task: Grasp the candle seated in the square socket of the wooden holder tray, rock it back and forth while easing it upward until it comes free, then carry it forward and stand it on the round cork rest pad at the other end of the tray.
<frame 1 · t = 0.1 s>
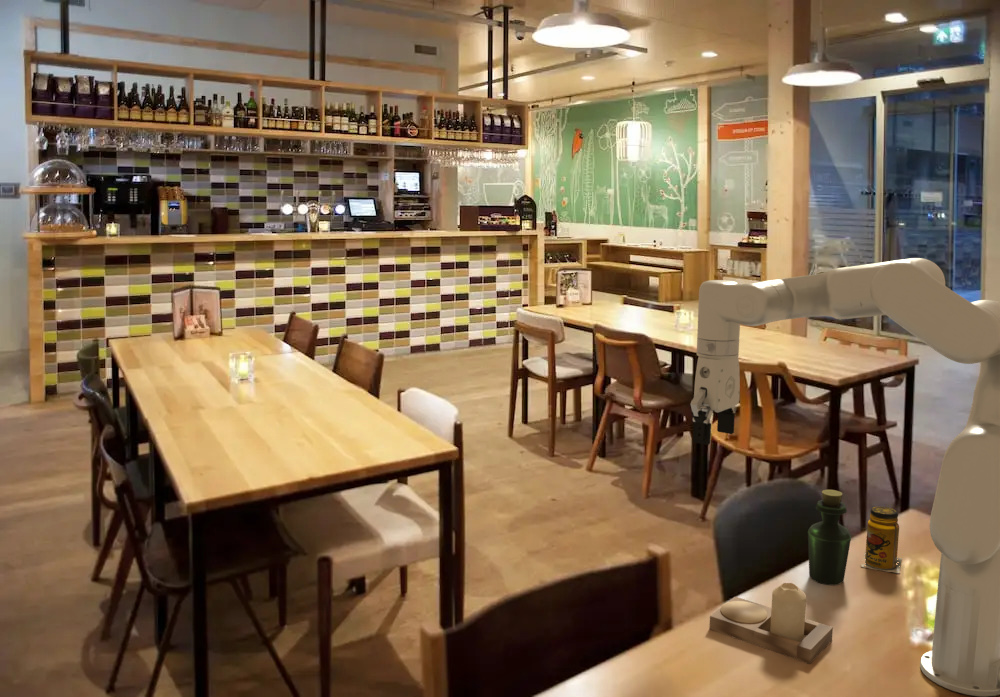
hand: (713, 437, 161), 31 cm above the table, fingers open, 9 cm apart
potion bottle: (826, 579, 173), on the table
wooden holder tray: (769, 634, 151), on the table
condiment: (881, 564, 181), on the table
candle: (786, 641, 149), resting in wooden holder tray
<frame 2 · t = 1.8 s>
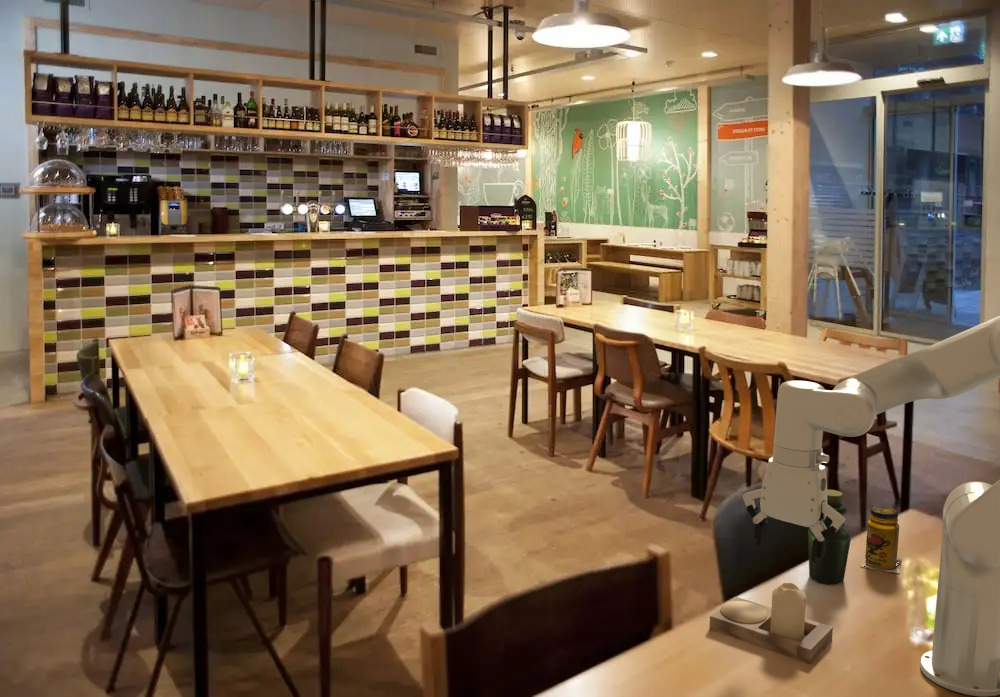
hand: (788, 552, 146), 16 cm above the table, fingers open, 9 cm apart
nothing on the table moved.
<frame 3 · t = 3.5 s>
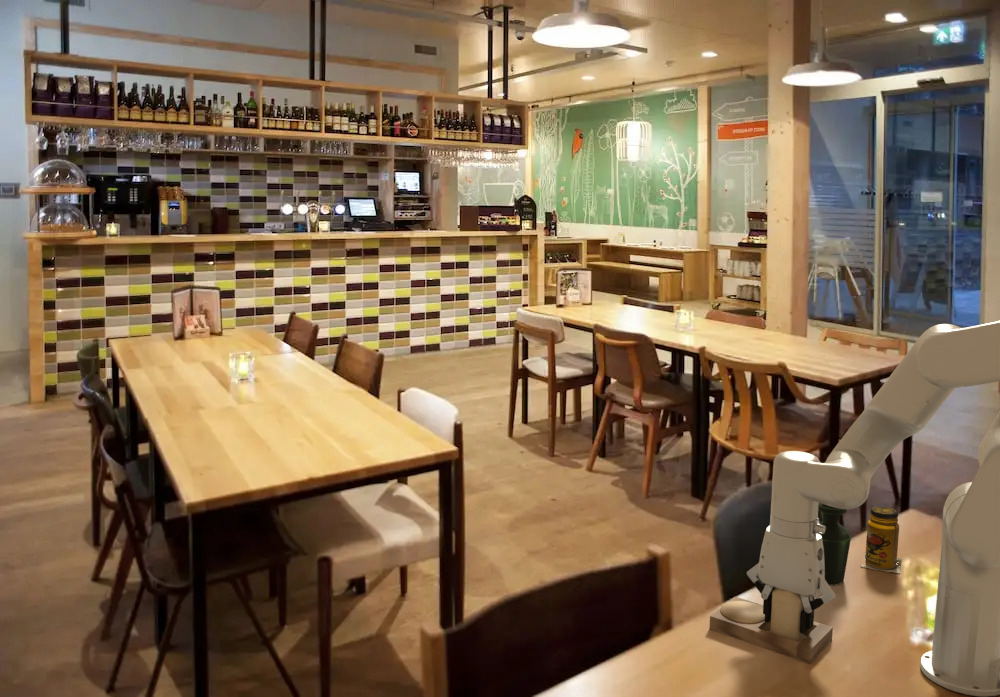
hand: (787, 624, 148), 3 cm above the table, fingers closed on candle, 5 cm apart
candle: (786, 641, 149), resting in wooden holder tray, touching gripper
everything else where it was.
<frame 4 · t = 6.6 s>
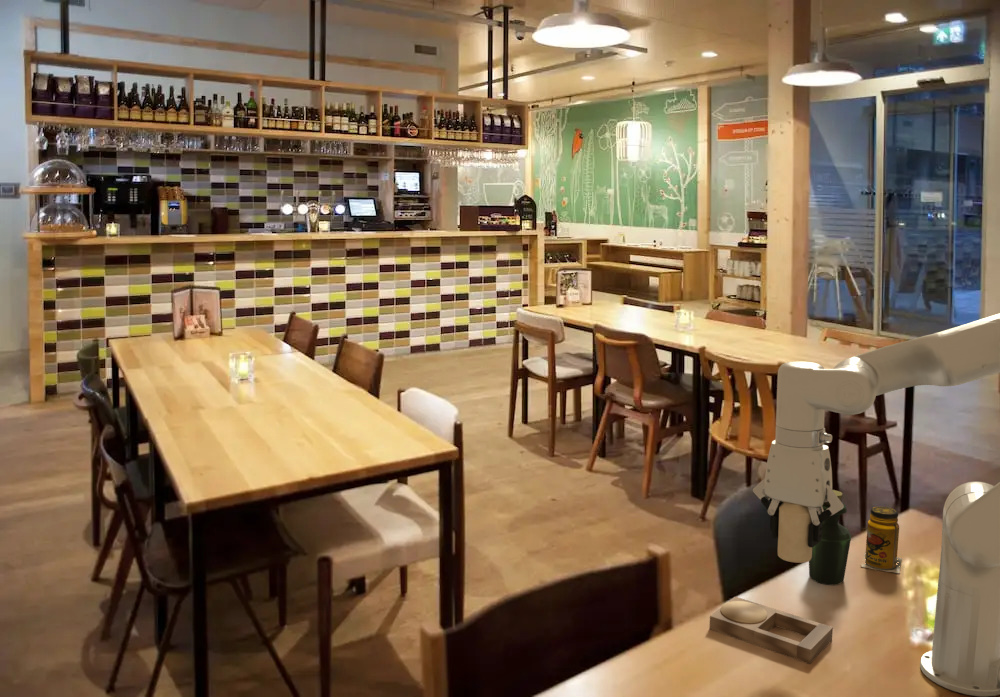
hand: (795, 539, 146), 18 cm above the table, fingers closed on candle, 5 cm apart
candle: (794, 557, 146), point 15 cm above the table, touching gripper
everything else where it was.
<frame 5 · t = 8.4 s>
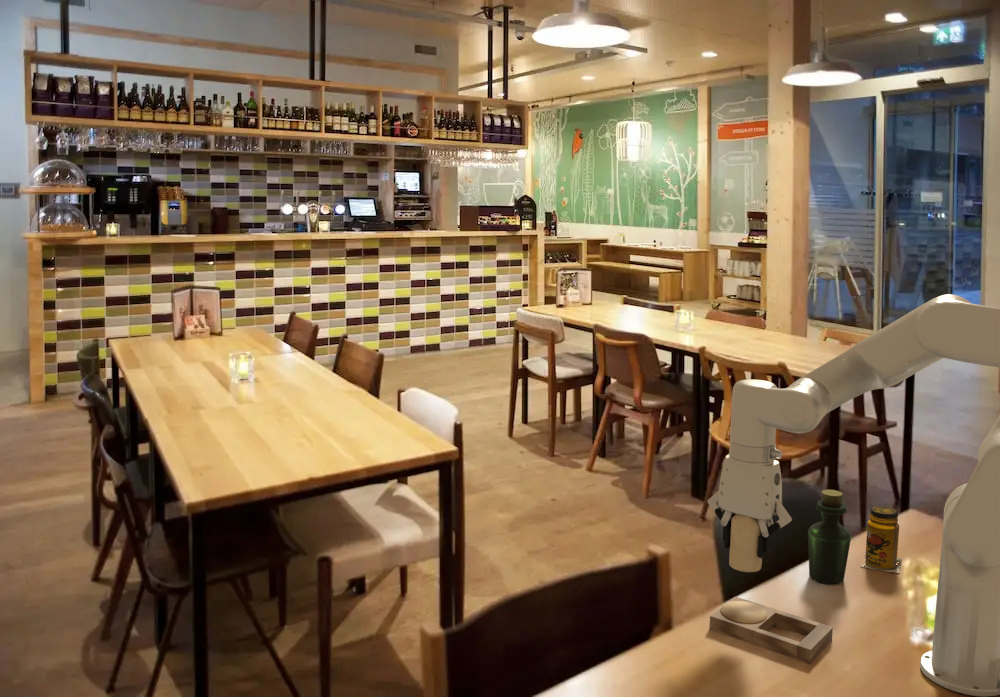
hand: (746, 549, 152), 14 cm above the table, fingers closed on candle, 5 cm apart
candle: (745, 567, 152), point 11 cm above the table, touching gripper
everything else where it was.
when the fingers open (7 cm above the table, at t = 10.1 s): candle moves 1 cm, resting on wooden holder tray.
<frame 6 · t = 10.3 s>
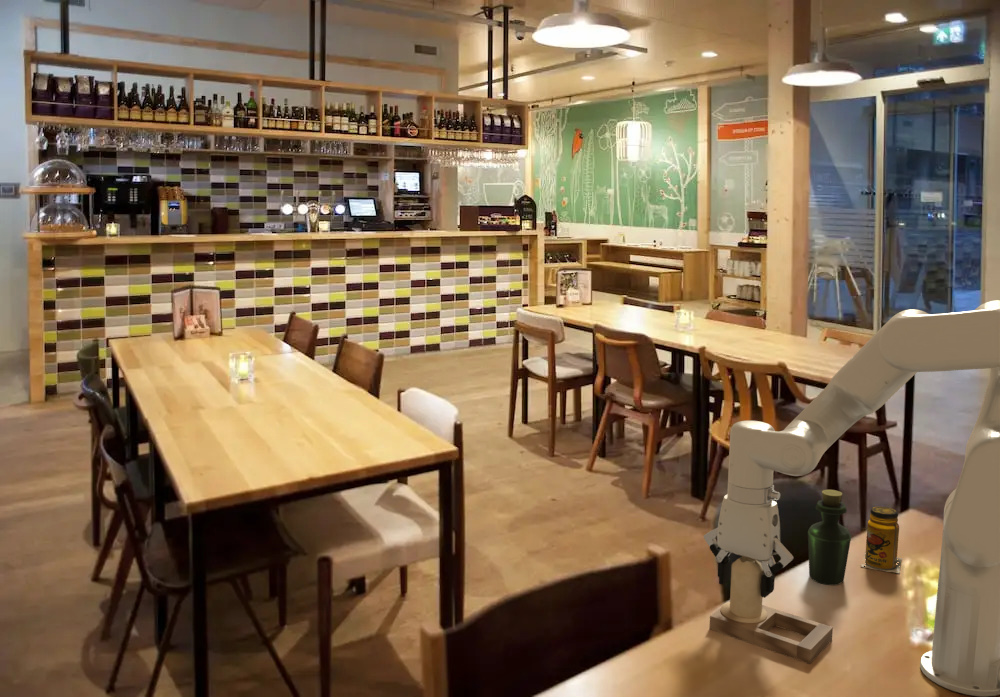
hand: (745, 587, 153), 7 cm above the table, fingers open, 7 cm apart
candle: (745, 612, 153), point 3 cm above the table, touching wooden holder tray
everything else where it was.
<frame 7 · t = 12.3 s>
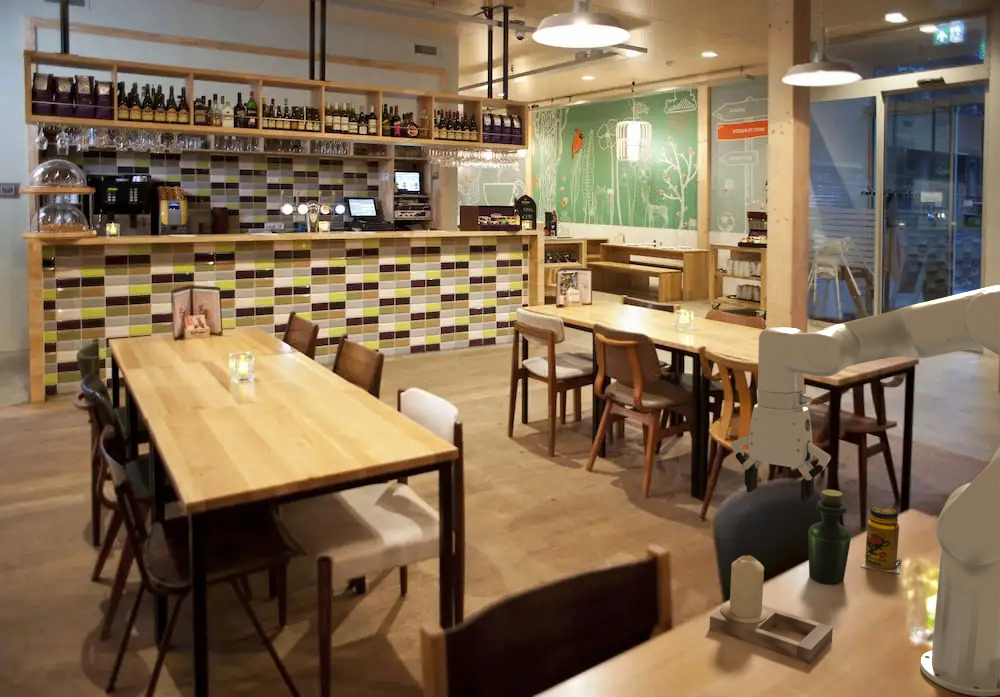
hand: (778, 495, 151), 24 cm above the table, fingers open, 9 cm apart
nothing on the table moved.
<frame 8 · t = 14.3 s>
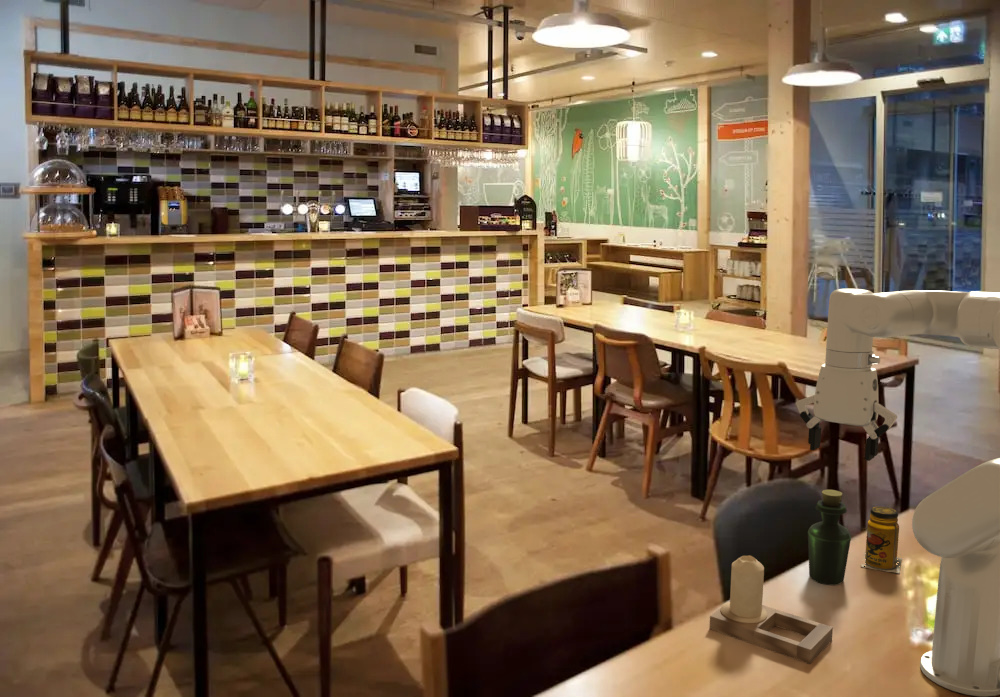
hand: (841, 453, 154), 30 cm above the table, fingers open, 9 cm apart
nothing on the table moved.
at the end: candle 0.3 cm from the target spot on the wooden holder tray, point 2.6 cm above the wooden holder tray's base; candle tilted 0°; the gripper is holding nothing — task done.
